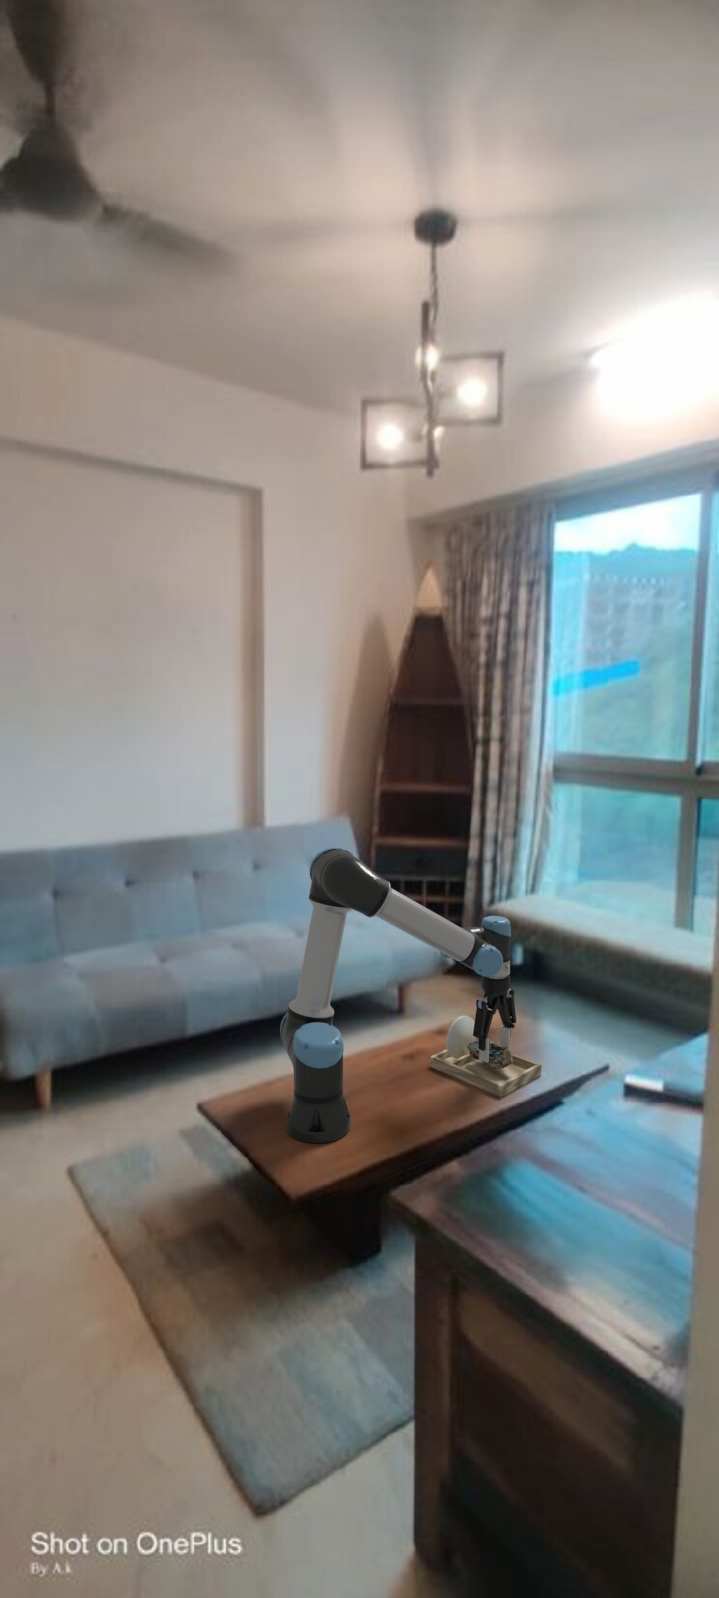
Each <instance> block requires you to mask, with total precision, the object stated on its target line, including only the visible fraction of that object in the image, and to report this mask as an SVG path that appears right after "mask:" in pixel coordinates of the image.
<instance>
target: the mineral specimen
mask: <svg viewBox="0 0 719 1598" xmlns="http://www.w3.org/2000/svg"><path fill="white" fill-rule="evenodd" d="M476 1040H477V1041H474V1042H473V1043H469V1045H468V1046H467V1048H468V1050H469V1051H470V1052H469V1053H470V1055H471V1054H472V1055H473V1058H474V1059H476V1060H479V1039H476ZM512 1054H513V1052H512V1051H511V1048H510V1049H509V1048H508V1047H504V1048H502V1047H500V1046H499V1045H498V1044H496V1043H495V1042H494V1041H492V1040H490V1039H489V1062H488V1063H487V1062H484V1061H482V1060H481V1061H482V1062H483V1064H484V1067H485V1068H493V1069H503V1068H505V1067H507V1066H509V1065H511V1064H512V1063H513V1060H512V1056H513V1055H512Z"/></svg>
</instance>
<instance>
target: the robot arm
mask: <svg viewBox="0 0 719 1598" xmlns="http://www.w3.org/2000/svg"><path fill="white" fill-rule="evenodd" d="M309 877H310V880H311V884H310V889H309V894H308V900H309V902H310V903H311V906H312V912H311V917H310V923H309V928H308V934H307V938H306V944H305V949H304V954H303V960H302V966H301V970H300V975H299V976H300V977H299V981H298V987H297V992H296V997H295V999H293V1000H291V1001H290V1002H289V1004H288V1007H287V1012H286V1013H285V1015H284V1016H283V1018H282V1020H281V1023H280V1028H279V1029H280V1030H279V1032H280V1035H279V1036H280V1039H281V1044H282V1046H283V1047H284V1049H285V1051H286V1054H287V1056H288V1057H289V1060H290V1062H291V1065H292V1067H293V1098H292V1101H291V1105H290V1108H289V1109H290V1111H288V1114H287V1117H286V1130H287V1132H288V1134H289V1135H290V1136H291V1137H292V1138H294V1139H296V1140H298V1141H301V1142H305V1143H308V1144H309V1143H310V1144H324V1143H330V1142H335V1141H337V1140H340V1139H341V1138H343V1137H345V1136H346V1135H347V1134H348V1133H349V1131H350V1130H351V1128H352V1127H351V1125H352V1124H351V1123H352V1122H351V1114H350V1111H349V1107H348V1105H347V1102H346V1099H345V1096H344V1050H345V1049H344V1047H345V1046H344V1042H343V1041H344V1040H343V1035H342V1033H341V1031H340V1030H339V1029H338V1028H337V1027H336V1026H335V1025H333V1023H334V1022H333V1021H334V1016H335V1009H334V1008H333V1007H332V1006H331V999H332V996H333V995H332V994H333V991H334V990H333V988H334V984H335V978H336V972H337V969H338V963H339V957H340V952H341V946H342V943H343V942H342V941H343V936H344V931H345V926H346V925H345V924H346V921H347V914H348V913H349V912H350V911H351V910H353V911H356V912H358V913H360V914H362V915H363V916H365V917H368V918H374V917H377V918H379V919H380V920H382V921H384V922H386V923H387V924H389V925H392V926H393V927H395V928H396V929H398V930H401V931H402V932H404V933H405V934H408V935H409V936H412V937H413V938H415V939H417V940H419V941H420V942H422V943H424V944H426V945H428V946H429V947H432V948H434V949H435V950H437V951H439V953H440V956H442V958H444V959H452V960H455V961H457V962H459V963H460V964H462V965H464V966H465V967H468V968H469V969H471V970H473V971H474V972H475V973H476V974H477V975H480V976H481V989H482V990H483V992H484V994H483V998H482V999H476V1001H475V1006H476V1010H475V1017H474V1022H475V1023H474V1030H473V1036H474V1037H476V1038H477V1039H478V1040H479V1060H482V1061H484V1062H487V1063H488V1062H489V1040H490V1038H489V1037H488V1035H489V1031H490V1029H491V1024H492V1021H493V1017H494V1015H496V1013H497V1011H498V1014H499V1017H500V1020H501V1023H502V1025H501V1026H500V1046H499V1047H502V1048H504V1047H508V1048H509V1049H510V1050H511V1037H512V1034H511V1033H512V1029H514V1028H515V1027H516V1026H515V1024H516V1023H517V1015H516V1006H515V997H514V996H515V990H514V989H511V976H510V974H511V941H512V940H511V938H512V928H511V921H510V920H509V919H508V918H507V917H504V916H500V915H489V916H485V917H483V918H482V920H481V925H477V926H468V927H460V926H458V925H457V924H455V923H454V922H452V921H451V920H448V919H446V918H445V917H443V916H442V915H439V914H438V913H436V912H434V911H433V910H431V909H429V908H427V907H425V905H424V906H423V905H422V904H420V903H418V902H416V901H415V900H413V899H411V898H410V897H408V896H406V895H404V894H402V893H401V892H399V891H397V890H395V889H394V888H393V887H391V883H390V881H388V880H386V879H385V878H383V877H382V876H380V875H378V874H377V873H376V872H375V871H373V870H372V869H371V868H370V867H369V866H368V865H366V864H365V863H364V862H363V861H362V860H361V859H359V858H358V857H356V856H354V855H353V853H352V852H350V851H348V850H346V849H343V848H339V847H326V848H324V849H322V850H320V852H318V853H317V854H315V856H314V857H313V859H312V860H311V863H310V866H309Z"/></svg>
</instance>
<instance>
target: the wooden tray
mask: <svg viewBox="0 0 719 1598" xmlns="http://www.w3.org/2000/svg"><path fill="white" fill-rule="evenodd" d="M477 1040H478V1039H476V1038H475V1041H477ZM512 1055H513V1056H512V1060H513V1063H512V1064H511V1065H509V1066H507V1067H505V1068H503V1069H493V1068H485V1067H484V1064H483V1062H482V1061H481V1060H476V1059H474V1058H473V1055H472V1054H471V1055H470V1053H468V1054H466V1055H464V1056H462V1057H460V1058H458V1059H455V1058H453V1057H451V1056H450V1055H449V1053H448V1051H447V1048H446V1049H444V1050H442V1051H439V1052H437V1053H435V1054H433V1055H431V1056H430V1059H429V1060H430V1064H429V1065H430V1067H431V1068H432V1069H434V1070H437V1071H439V1072H442V1073H444V1074H446V1075H448V1076H451V1077H453V1078H456V1079H458V1080H460V1081H462V1082H465V1083H467V1084H469V1085H471V1086H474V1087H475V1088H479V1089H481V1090H483V1091H486V1092H487V1093H489V1094H492V1095H494V1096H496V1097H498V1098H502V1097H504V1096H506V1095H508V1094H510V1093H512V1092H513V1091H515V1090H517V1089H519V1088H521V1087H523V1086H525V1085H527V1084H528V1083H530V1082H531V1081H534V1080H536V1079H537V1078H539V1077H541V1076H542V1064H540V1063H538V1062H536V1061H533V1060H530V1059H529V1058H525V1057H524V1056H520V1055H517V1054H515V1053H512Z"/></svg>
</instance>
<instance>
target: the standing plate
mask: <svg viewBox="0 0 719 1598" xmlns="http://www.w3.org/2000/svg"><path fill="white" fill-rule="evenodd" d="M474 1023H475V1019H473V1018H472V1017H471V1016H468V1015H466V1014H465V1015H464V1014H463V1015H460V1016H458V1017H457V1018H455V1019H454V1020H453V1021H452V1023H451V1024H450V1026H449V1028H448V1030H447V1033H446V1039H445V1047H446V1049H447V1051H448V1053H449V1055H450V1056H451V1057H453V1058H455V1059H458V1058H460V1057H462V1056H464V1055H466V1054H468V1053H469V1052H470V1051H469V1050H468V1048H467V1046H468V1045H469V1043H473V1042H474V1041H475V1039H476V1038H477V1037H474V1036H473V1030H474Z"/></svg>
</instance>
